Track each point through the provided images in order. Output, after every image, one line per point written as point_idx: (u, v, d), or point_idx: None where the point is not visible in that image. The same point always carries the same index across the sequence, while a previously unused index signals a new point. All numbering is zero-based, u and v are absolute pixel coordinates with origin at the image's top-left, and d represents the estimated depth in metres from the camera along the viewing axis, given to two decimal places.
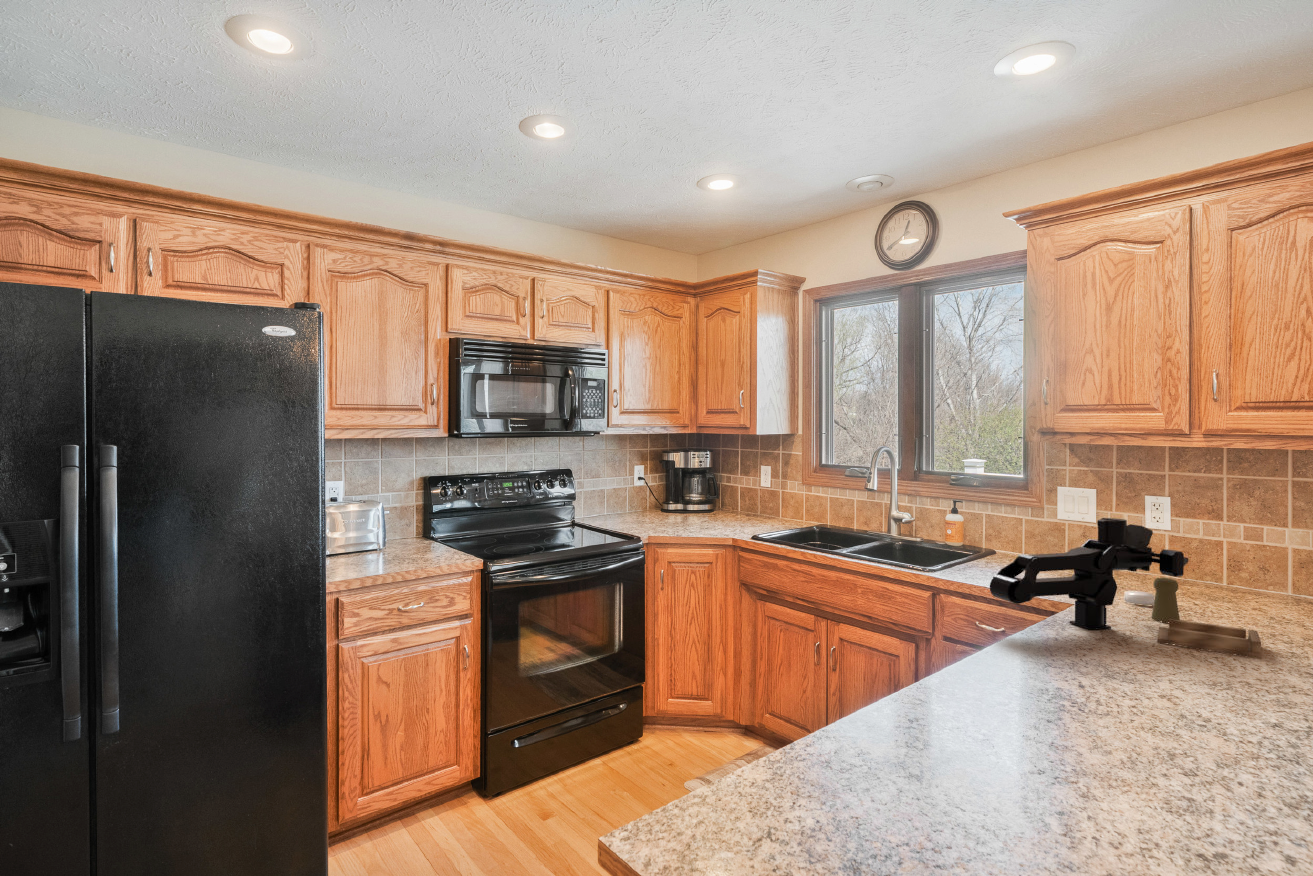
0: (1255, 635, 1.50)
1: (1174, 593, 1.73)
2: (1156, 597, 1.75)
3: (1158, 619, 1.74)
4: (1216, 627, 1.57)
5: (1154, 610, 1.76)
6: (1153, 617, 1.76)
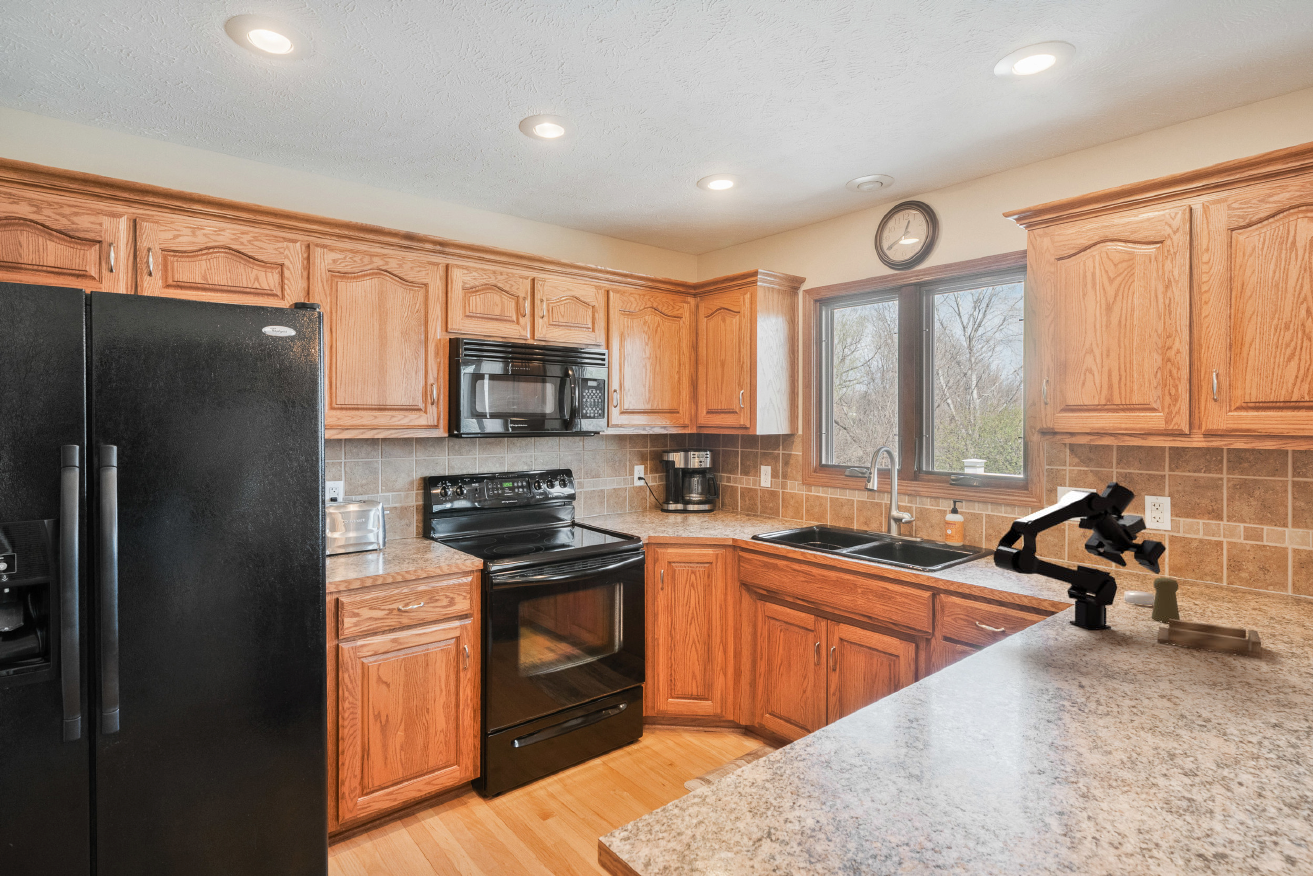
0: (1255, 635, 1.50)
1: (1174, 593, 1.73)
2: (1156, 597, 1.75)
3: (1158, 619, 1.74)
4: (1216, 627, 1.57)
5: (1154, 610, 1.76)
6: (1153, 617, 1.76)
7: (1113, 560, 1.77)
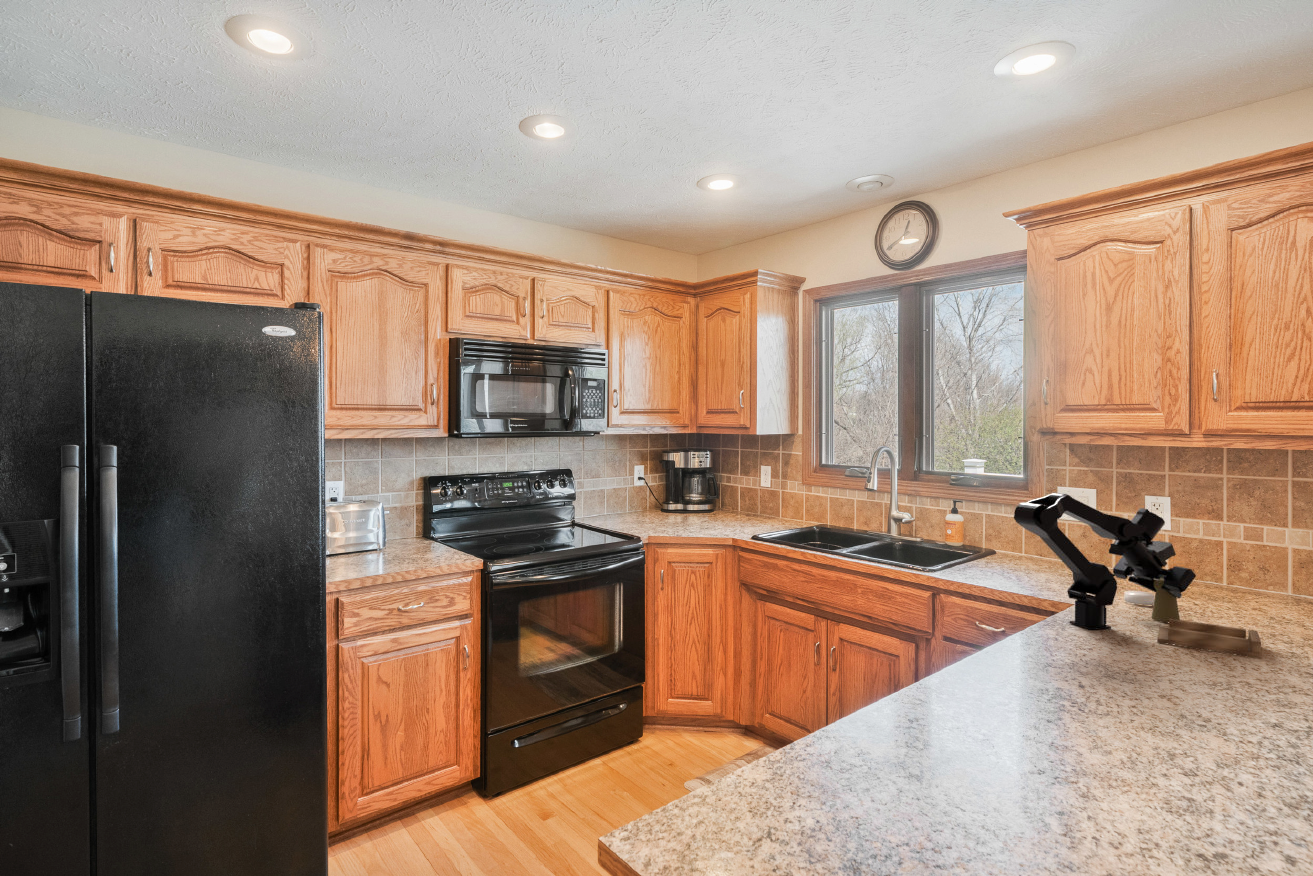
0: (1255, 635, 1.50)
1: None
2: (1156, 597, 1.75)
3: (1158, 619, 1.74)
4: (1216, 627, 1.57)
5: (1154, 610, 1.76)
6: (1153, 617, 1.76)
7: (1148, 587, 1.77)
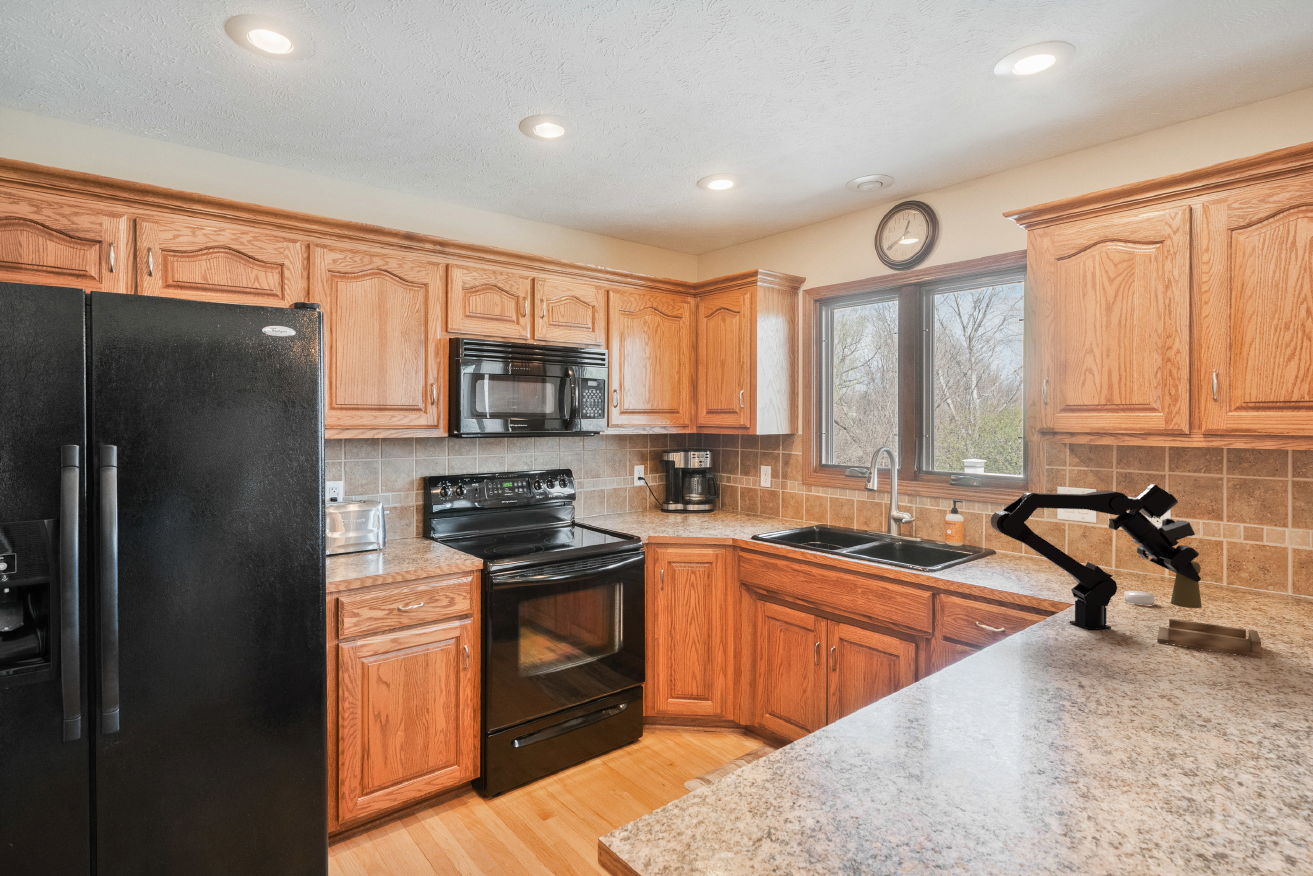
0: (1255, 635, 1.50)
1: None
2: (1175, 579, 1.66)
3: (1173, 602, 1.65)
4: (1216, 627, 1.57)
5: (1172, 593, 1.66)
6: (1171, 600, 1.67)
7: (1170, 568, 1.68)
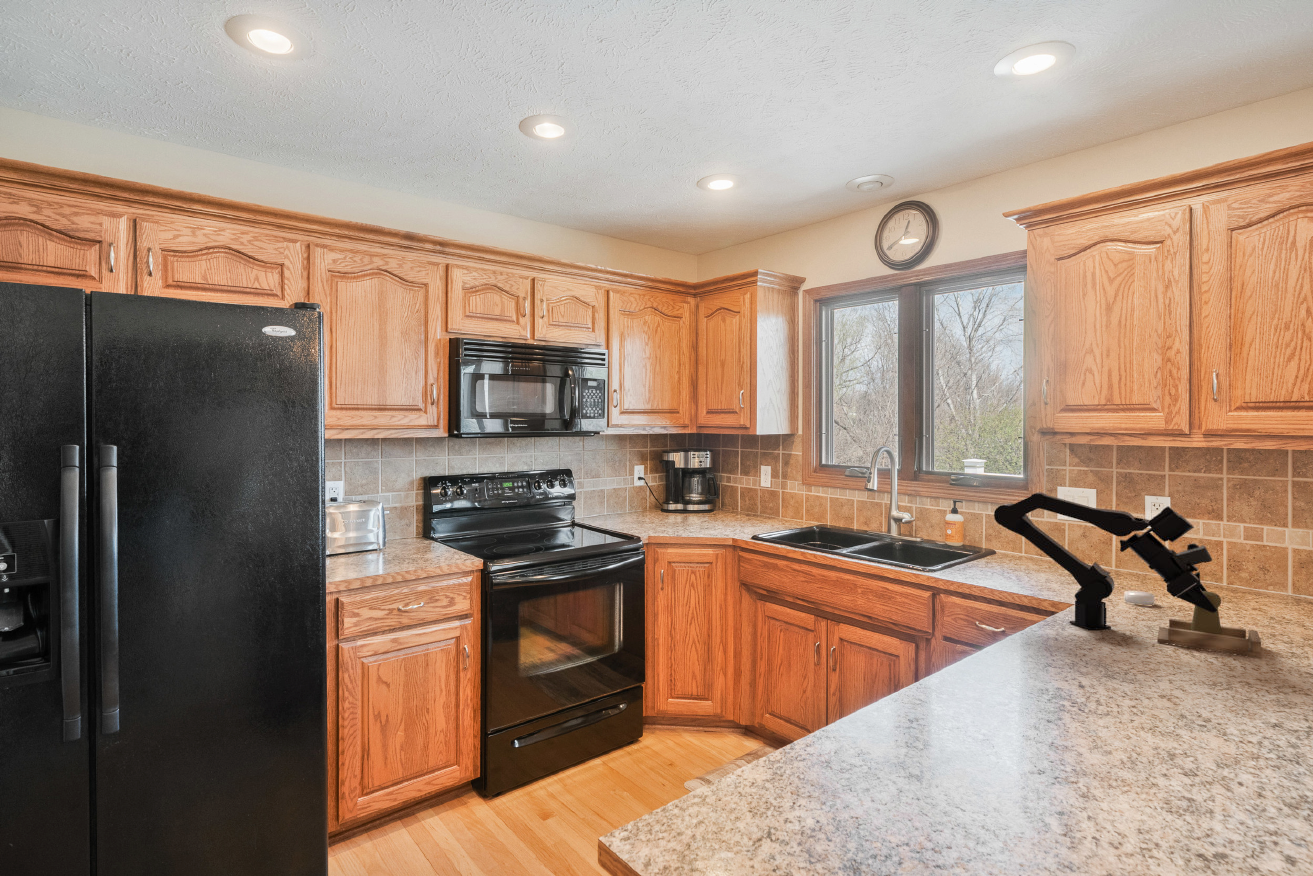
0: (1255, 635, 1.50)
1: None
2: None
3: None
4: None
5: None
6: None
7: None
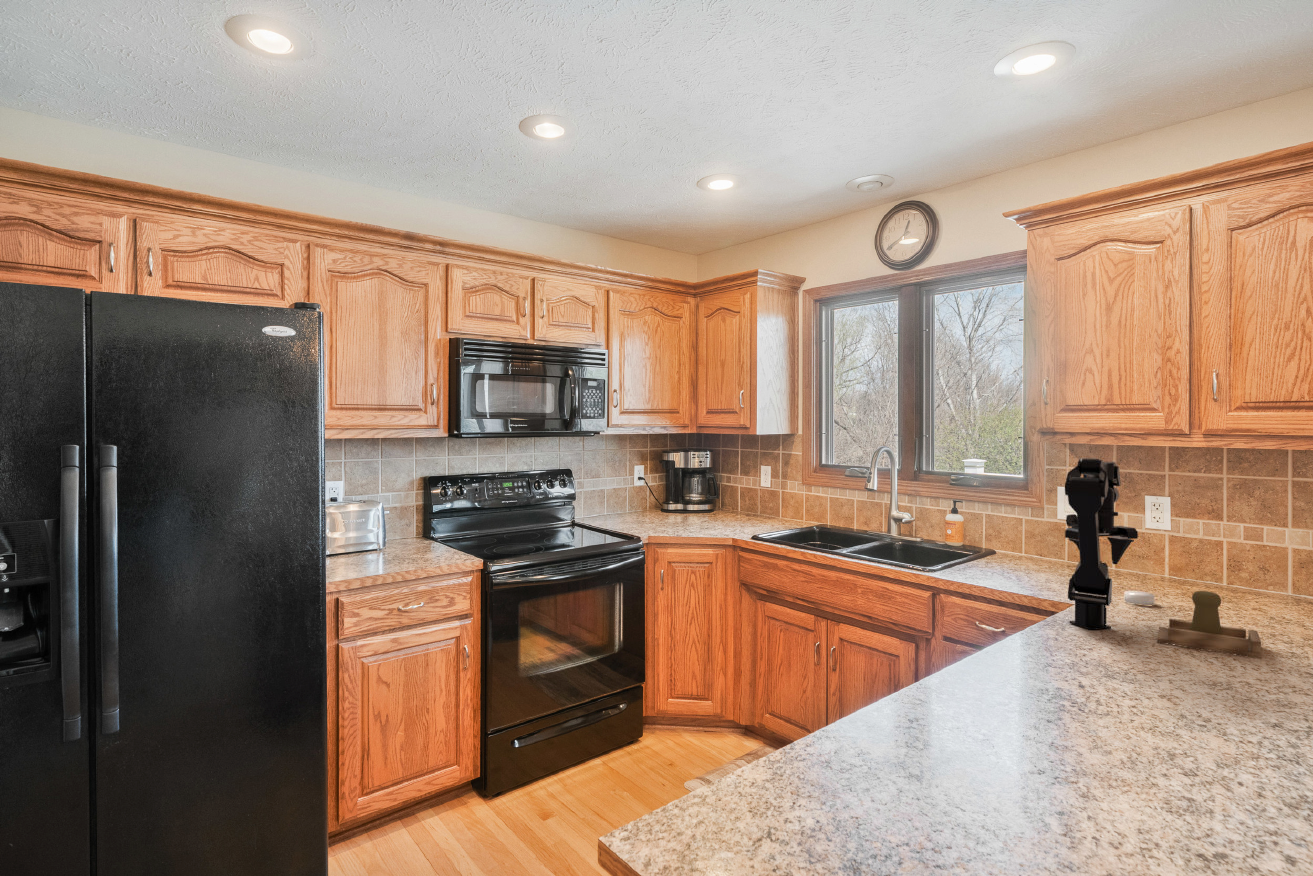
0: (1255, 635, 1.50)
1: (1208, 609, 1.54)
2: None
3: None
4: None
5: None
6: None
7: None
